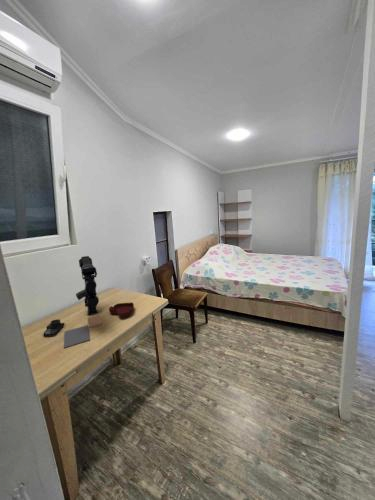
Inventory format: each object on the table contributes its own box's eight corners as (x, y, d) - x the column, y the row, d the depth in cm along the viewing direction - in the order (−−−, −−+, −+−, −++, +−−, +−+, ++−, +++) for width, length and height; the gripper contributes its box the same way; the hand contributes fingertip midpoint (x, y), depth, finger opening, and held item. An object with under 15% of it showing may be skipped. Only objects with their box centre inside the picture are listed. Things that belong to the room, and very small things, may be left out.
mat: (64, 332, 127) (64, 331, 127) (87, 326, 133) (87, 325, 133) (64, 348, 112) (63, 347, 112) (90, 340, 118) (90, 339, 118)
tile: (88, 326, 133) (87, 317, 132) (101, 322, 137) (100, 314, 136) (88, 327, 132) (87, 318, 131) (102, 323, 136) (101, 315, 135)
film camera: (54, 329, 121) (38, 324, 122) (52, 340, 122) (37, 336, 123) (69, 318, 134) (55, 314, 135) (68, 329, 135) (54, 325, 136)
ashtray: (141, 311, 151) (140, 305, 150) (122, 321, 138) (121, 314, 137) (126, 305, 161) (125, 299, 160) (107, 314, 149) (106, 307, 148)
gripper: (75, 283, 134) (78, 305, 137) (76, 293, 118) (80, 318, 121) (94, 280, 139) (96, 301, 142) (97, 288, 123) (100, 312, 126)
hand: (93, 308), depth 133 cm, fingers open, 9 cm apart
